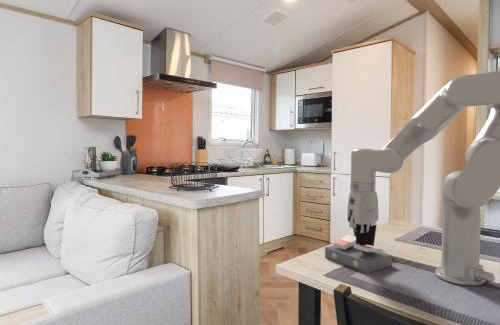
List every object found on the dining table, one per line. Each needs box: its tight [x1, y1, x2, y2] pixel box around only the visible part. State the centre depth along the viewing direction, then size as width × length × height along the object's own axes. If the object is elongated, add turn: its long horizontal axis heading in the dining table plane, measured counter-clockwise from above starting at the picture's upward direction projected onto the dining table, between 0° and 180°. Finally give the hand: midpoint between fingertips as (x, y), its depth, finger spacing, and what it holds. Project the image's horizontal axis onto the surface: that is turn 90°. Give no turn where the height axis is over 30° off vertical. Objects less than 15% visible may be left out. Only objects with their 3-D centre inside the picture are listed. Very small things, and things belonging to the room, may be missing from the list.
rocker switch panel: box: [324, 244, 393, 274], centre depth 115 cm, size 18×12×4 cm
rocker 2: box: [354, 244, 384, 253], centre depth 111 cm, size 5×8×1 cm, turn 122°
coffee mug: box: [352, 222, 378, 246], centre depth 129 cm, size 12×9×10 cm
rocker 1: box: [332, 234, 356, 250], centre depth 119 cm, size 5×8×1 cm, turn 122°
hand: (361, 244), depth 109 cm, fingers closed
